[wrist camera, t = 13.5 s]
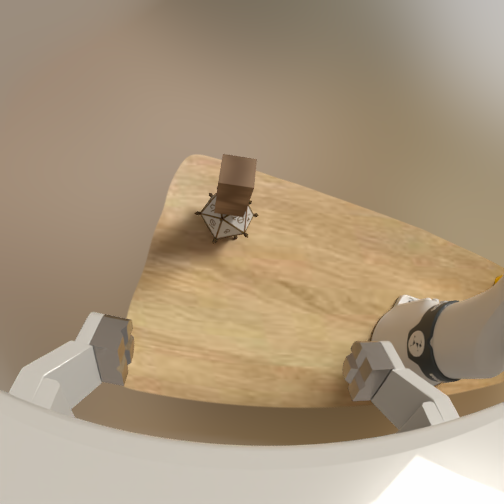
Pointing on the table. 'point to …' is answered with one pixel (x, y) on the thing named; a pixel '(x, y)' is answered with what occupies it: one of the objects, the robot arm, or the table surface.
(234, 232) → the game die
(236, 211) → the walnut block
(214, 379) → the table surface
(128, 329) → the robot arm
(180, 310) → the table surface
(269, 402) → the table surface
